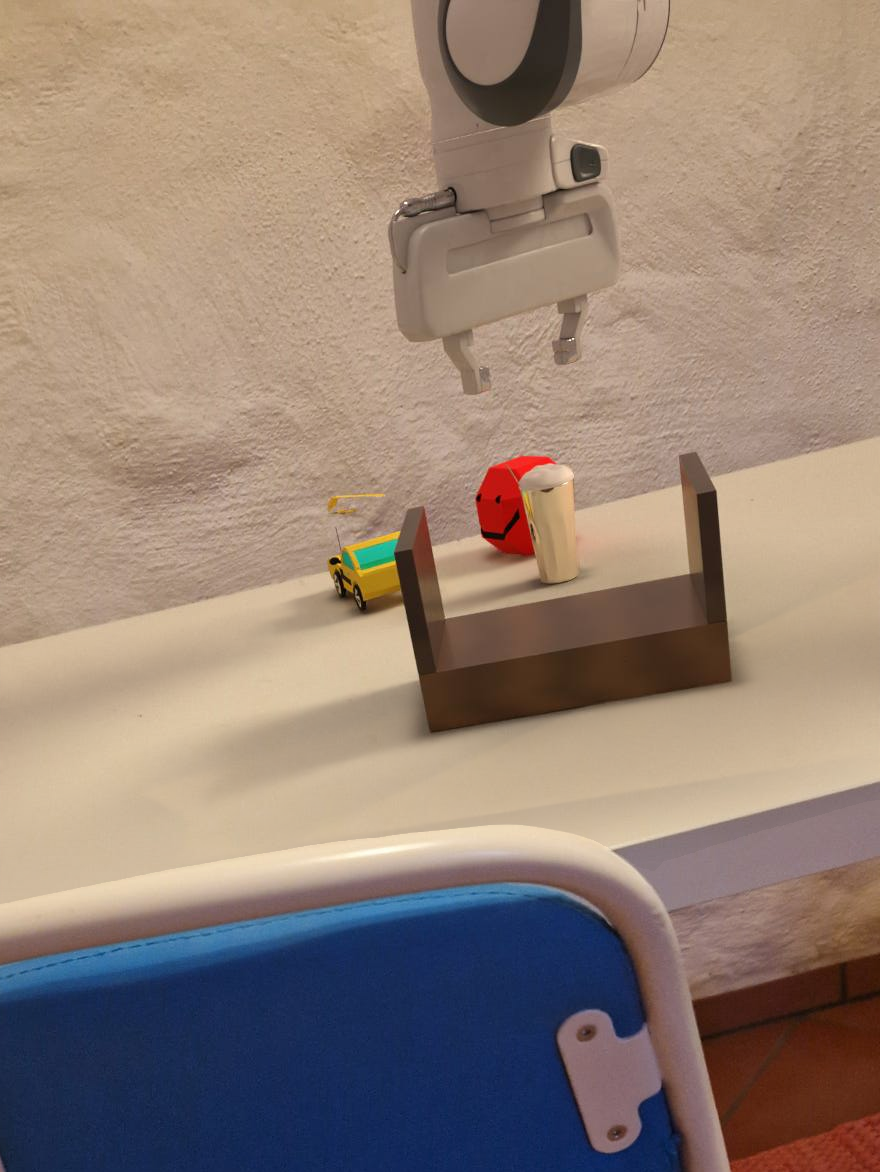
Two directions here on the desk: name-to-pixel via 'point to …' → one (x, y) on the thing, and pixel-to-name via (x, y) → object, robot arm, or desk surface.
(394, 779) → the desk surface
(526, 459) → the ball
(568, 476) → the milkshake
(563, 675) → the shelf
